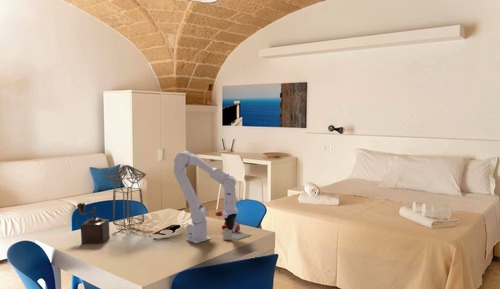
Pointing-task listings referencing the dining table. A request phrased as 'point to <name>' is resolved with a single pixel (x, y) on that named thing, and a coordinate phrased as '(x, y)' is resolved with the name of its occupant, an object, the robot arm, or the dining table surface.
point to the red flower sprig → (225, 222)
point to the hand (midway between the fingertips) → (230, 229)
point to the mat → (239, 235)
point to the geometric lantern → (127, 192)
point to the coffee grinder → (93, 228)
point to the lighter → (228, 233)
